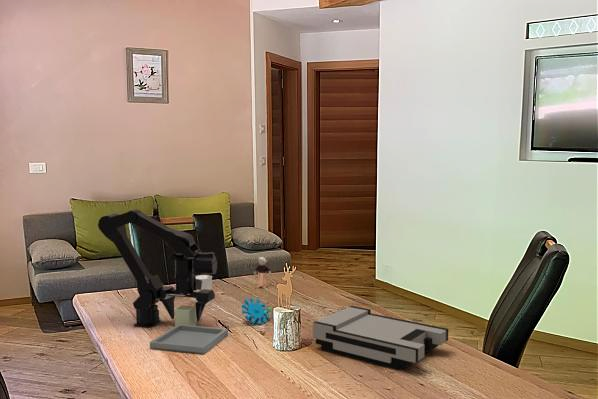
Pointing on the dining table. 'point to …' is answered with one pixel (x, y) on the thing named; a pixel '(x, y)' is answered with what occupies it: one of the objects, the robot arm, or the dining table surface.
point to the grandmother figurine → (262, 273)
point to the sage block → (185, 315)
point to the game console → (376, 337)
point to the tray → (189, 339)
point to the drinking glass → (205, 284)
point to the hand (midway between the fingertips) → (185, 320)
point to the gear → (255, 311)
